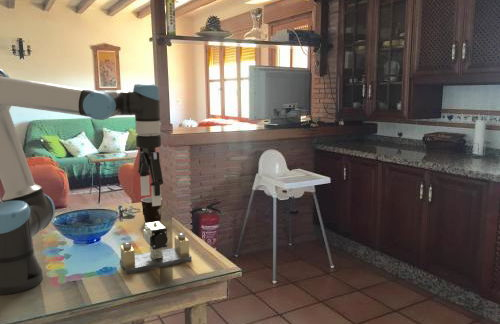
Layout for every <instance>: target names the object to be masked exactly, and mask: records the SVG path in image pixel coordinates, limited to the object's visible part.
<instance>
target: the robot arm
mask: <svg viewBox="0 0 500 324" xmlns="http://www.w3.org/2000/svg"><path fill="white" fill-rule="evenodd" d="M160 98H161V97H160V91H159V86H158V85H157V84H153V83H152V84H150V83H149V84H148V83H147V84H145V83H143V84H142V83H141V84H138V83H136V84H134V85H133V89H132V90H107V89H103V90H97V89H96V90H94V89H87V88H81V87H74V86H70V85H68V86H67V85H61V84H55V83H47V82H41V81H36V80H34V81H33V80H27V79H20V78H15V77H10V76H9V75H8V73H6V71H5V70H3V69H1V68H0V181H1V184H2V187H3V190H4V194H3V196H2V198H1V199H2V200H1V201H2V202H0V296H1V295H2V296H3V295H11V294H17V293H21V292H24V291H26V290H29V289H31V288H34V287H36V286H37V285H39V284H41V282H42V281H43V279H44V278H43V277H44V275H43V270H42V267H41V265H40V263H39V261H38V259H37V257H36V255H35V253H34V251H35V250H34V243H33V242H34V239H33V237H35V236H36V235H37V234H38V233H39V232H41V231H42V230H45V228H47V227H48V226H49V224H50V223H51V222H52V221H53V218H54V217H55V213H56V207H55V203H54V200H53V199H52V198H51V197H50V196H49V195H47V194H46V193H45V192H44V189H43V187H42V185H39V184H37V183H35V181H34V177H33V174H32V171H31V169H30V166H29V164H28V161H27V157H26V154H25V151H24V150H23V149H24V148H23V145H22V143H21V141H20V139H19V138H20V137H19V135H18V132H17V130H16V127H15V124H14V121H13V118H12V115H11V113H10V110H11V107H16V108H18V107H19V108H25V109H31V110H37V111H38V110H40V111H46V112H47V111H48V112H54V113H60V114H61V113H62V114H68V115H75V116H83V117H88V118H91V119H93V120H97V121H98V120H99V121H102V120H107V119H109V118H112V117H115V116H134V117H135V121H134V123H135V133H136V136H135V143H136V147H137V148H138V149H139V159H138V171H137V172H138V174H139V176H140V178H139V179H140V195H141V197H145V196H146V197H147V196H150V195H151V197H152V206H159V205H161V198H162V185H163V184H164V180H163V179H164V178H163V173H162V167H161V163H160V162H161V161H160V152H159V151H156V148H160V147H161V146H162V137H161V136H162V135H160V133H161V127H162V125H163V123H162V122H161V106H160V104H161V101H160V100H161V99H160ZM150 179H151V183H150ZM150 188H151V189H150ZM150 190H151V194H150Z"/></svg>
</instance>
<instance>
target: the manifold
mask: <svg viewBox="0 0 500 324" xmlns="http://www.w3.org/2000/svg"><path fill="white" fill-rule="evenodd" d="M173 239H174V247H172V248H166V249H163V251H162V252H163V254H162V255H163V258H158V259H155V260H153V259H152V257H151V256H150V254H151V252H150V251H149V252H144V253H139V254H135V249H134V248H133V246H132V242H131V241H125V242H123V243H122V245H120V246H119V248H120V258H119V263H120V264H121V267H122V268H123V270H124V271H125V273H126V274H127V275H130V274H135V273H139V272H144V271H148V270H154V269H157V268H159V269H160V268H163V267H164V268H165V267H168V266H173V265H178V264H183V263H187V262H191V261H193V260H192V259H193V258H192V255H191V254H190V239H188V238H187V237H186V234H185V232H179V233H177V235H174V238H173Z"/></svg>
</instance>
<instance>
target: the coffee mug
mask: <svg viewBox="0 0 500 324" xmlns="http://www.w3.org/2000/svg"><path fill="white" fill-rule="evenodd" d="M140 202H141V206H142V208H141V209H142V216H143V219H144V224H145V223H147V222H154V221H159V222H160V223H161V221H162V210H163V209H162V207H163V198H162V197H161V205H159V206H152V196H148V197H147V196H146V197H144V198H141V199H140Z"/></svg>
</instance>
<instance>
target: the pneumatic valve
mask: <svg viewBox="0 0 500 324" xmlns="http://www.w3.org/2000/svg"><path fill="white" fill-rule="evenodd" d="M167 233H168V231H167V227H166V226H164V224H162V223H161V222H159V221H154V222H147V223H145V222H144V228H143V229H142V234H143V235H142V237H143V239H144V241H145V242H146V243H147V244H148V245H149V250H150V251H149V253H150V252H151V254H150V256H151V257H152V259H153V260H155V259H158V258H163V255H162V254H163V252H162V251H163V250H164V248H168V234H167Z"/></svg>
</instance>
